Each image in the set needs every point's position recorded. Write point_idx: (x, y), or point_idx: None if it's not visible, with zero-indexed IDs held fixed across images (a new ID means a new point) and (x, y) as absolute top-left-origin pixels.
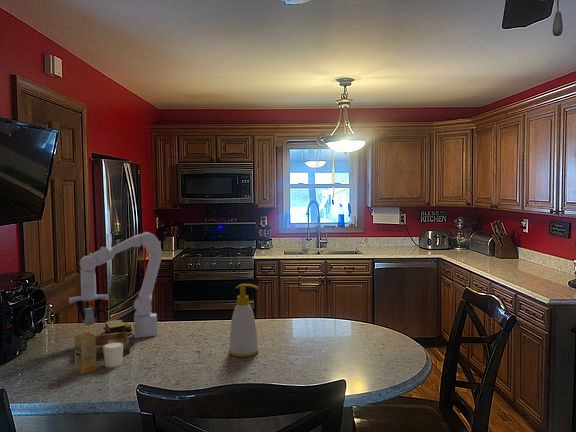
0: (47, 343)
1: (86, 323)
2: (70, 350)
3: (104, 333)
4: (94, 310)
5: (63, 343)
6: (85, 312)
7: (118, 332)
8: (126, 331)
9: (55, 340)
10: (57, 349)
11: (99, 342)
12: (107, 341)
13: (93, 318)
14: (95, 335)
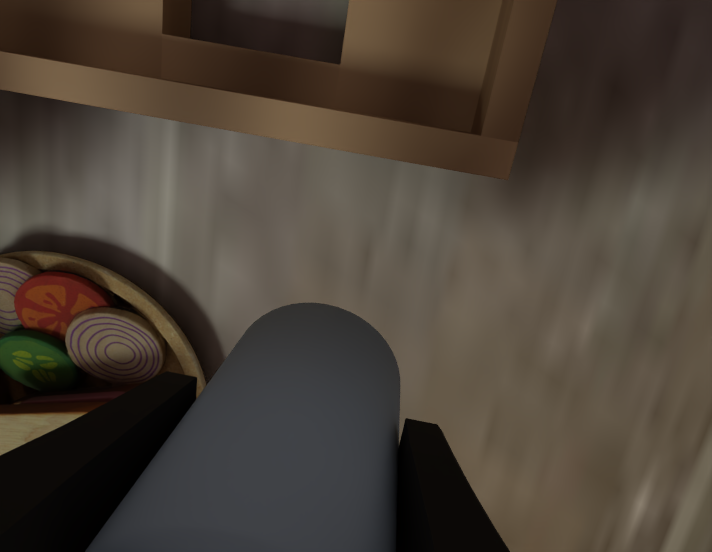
0: (703, 470)
1: (373, 342)
2: (591, 104)
3: None
4: (94, 540)
5: (581, 388)
6: (368, 530)
7: (61, 345)
8: (4, 378)
9: (615, 510)
10: (694, 229)
11: (270, 54)
12: (176, 36)
13: (222, 370)
14: (289, 136)
